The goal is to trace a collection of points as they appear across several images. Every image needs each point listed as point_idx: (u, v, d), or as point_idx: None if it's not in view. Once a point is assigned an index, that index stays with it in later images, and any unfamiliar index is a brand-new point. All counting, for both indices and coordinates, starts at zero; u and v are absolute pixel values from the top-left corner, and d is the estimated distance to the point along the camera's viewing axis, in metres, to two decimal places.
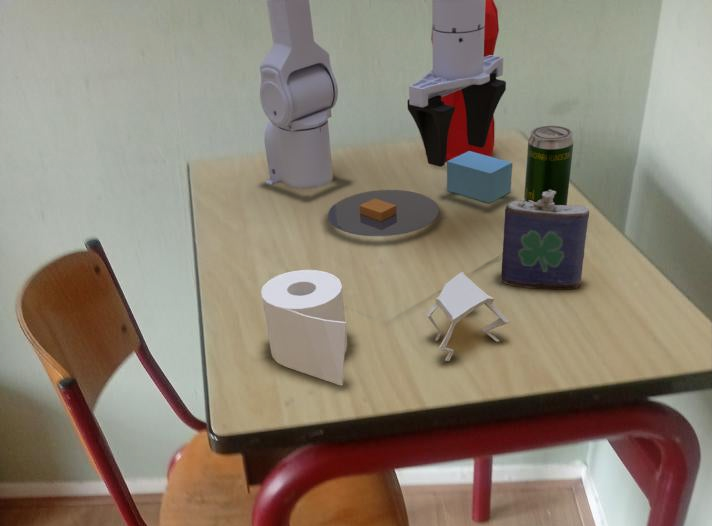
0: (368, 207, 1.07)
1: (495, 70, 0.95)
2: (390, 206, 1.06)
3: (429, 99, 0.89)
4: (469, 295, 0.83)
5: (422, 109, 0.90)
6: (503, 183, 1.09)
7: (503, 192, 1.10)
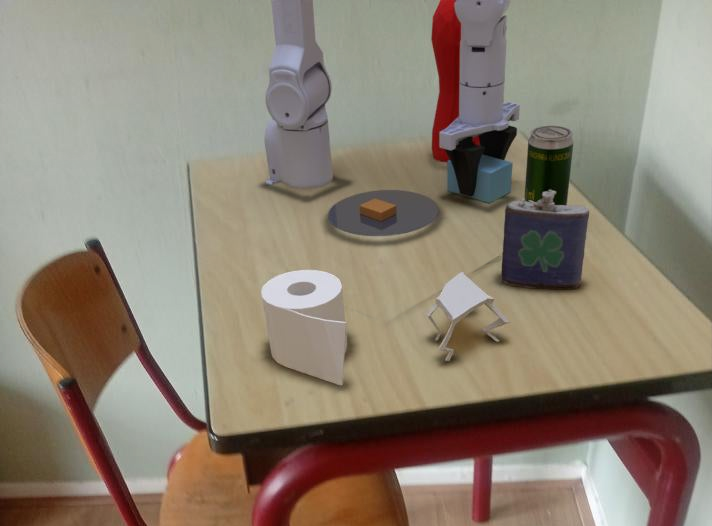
0: (368, 207, 1.07)
1: (512, 115, 1.09)
2: (390, 206, 1.06)
3: (462, 140, 1.04)
4: (469, 295, 0.83)
5: (456, 148, 1.04)
6: (503, 183, 1.09)
7: (503, 192, 1.10)
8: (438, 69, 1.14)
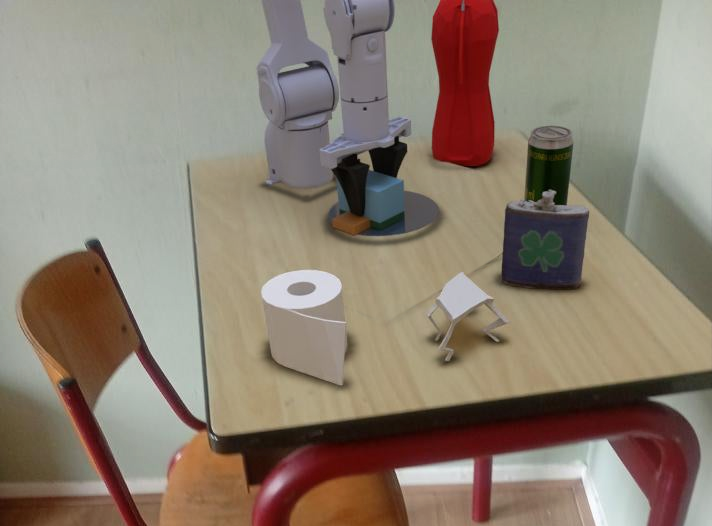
0: (341, 220, 1.04)
1: (404, 131, 1.03)
2: (364, 219, 1.04)
3: (346, 158, 0.98)
4: (469, 295, 0.83)
5: (340, 166, 0.99)
6: (394, 202, 1.04)
7: (395, 211, 1.04)
8: (438, 69, 1.14)
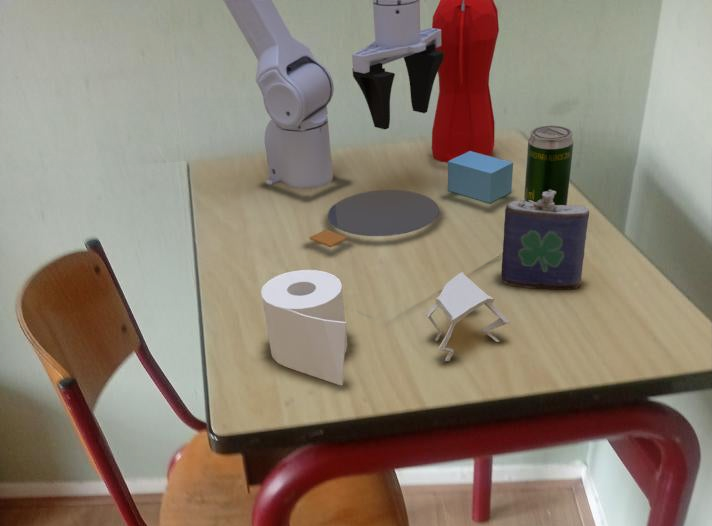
0: (318, 239, 1.02)
1: (434, 41, 1.04)
2: (341, 238, 1.02)
3: (371, 66, 0.98)
4: (469, 295, 0.83)
5: (365, 75, 0.99)
6: (504, 183, 1.09)
7: (504, 192, 1.10)
8: None
